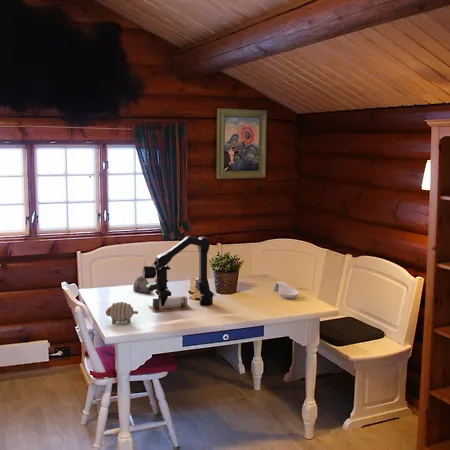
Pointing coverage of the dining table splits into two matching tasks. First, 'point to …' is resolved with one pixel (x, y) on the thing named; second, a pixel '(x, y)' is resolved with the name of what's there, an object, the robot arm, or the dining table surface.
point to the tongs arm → (169, 303)
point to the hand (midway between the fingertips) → (161, 305)
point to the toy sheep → (120, 312)
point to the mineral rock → (140, 285)
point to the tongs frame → (176, 297)
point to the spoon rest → (285, 290)
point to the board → (170, 309)
